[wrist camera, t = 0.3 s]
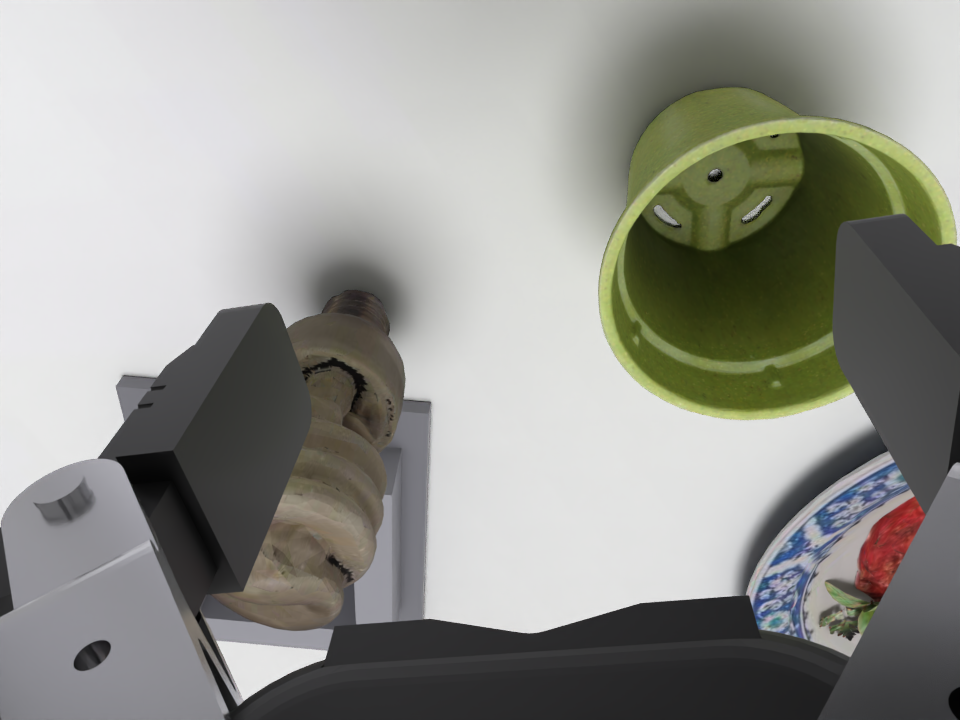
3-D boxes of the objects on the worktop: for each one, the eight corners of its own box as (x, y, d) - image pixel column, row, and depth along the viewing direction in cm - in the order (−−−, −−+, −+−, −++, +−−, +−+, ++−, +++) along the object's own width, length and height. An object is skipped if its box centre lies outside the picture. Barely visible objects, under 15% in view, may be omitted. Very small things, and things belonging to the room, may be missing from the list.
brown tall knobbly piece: (295, 232, 31) (141, 512, 19) (433, 251, 32) (367, 542, 19) (297, 348, 35) (165, 651, 22) (422, 365, 35) (358, 675, 23)
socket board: (123, 375, 36) (84, 430, 33) (430, 402, 36) (420, 459, 33) (178, 600, 45) (152, 659, 42) (423, 622, 45) (414, 683, 42)
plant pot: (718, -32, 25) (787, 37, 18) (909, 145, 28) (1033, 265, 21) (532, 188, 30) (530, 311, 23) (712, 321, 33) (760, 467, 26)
